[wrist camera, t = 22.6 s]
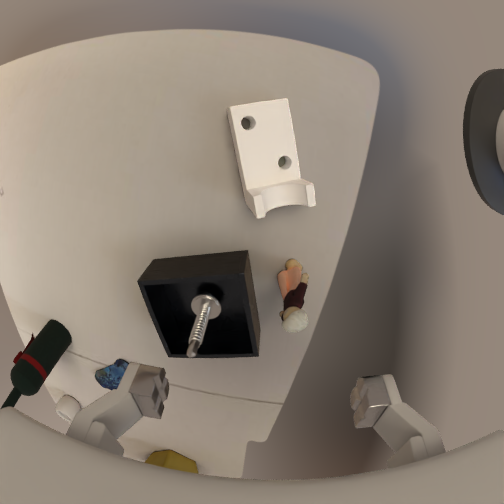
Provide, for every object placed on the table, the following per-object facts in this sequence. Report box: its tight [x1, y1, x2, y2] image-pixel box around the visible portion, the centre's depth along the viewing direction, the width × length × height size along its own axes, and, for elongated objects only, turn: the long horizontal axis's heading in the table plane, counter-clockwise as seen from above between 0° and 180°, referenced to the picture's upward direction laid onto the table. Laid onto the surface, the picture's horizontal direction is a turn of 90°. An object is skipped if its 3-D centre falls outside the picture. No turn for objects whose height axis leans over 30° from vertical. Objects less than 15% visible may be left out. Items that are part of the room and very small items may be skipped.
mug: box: [55, 395, 80, 423], centre depth 69 cm, size 12×8×8 cm
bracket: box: [227, 98, 316, 219], centre depth 32 cm, size 13×7×8 cm, turn 10°
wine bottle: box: [1, 320, 71, 409], centre depth 42 cm, size 8×10×30 cm
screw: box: [187, 294, 221, 357], centre depth 40 cm, size 13×5×5 cm
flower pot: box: [144, 450, 198, 474], centre depth 75 cm, size 19×19×17 cm
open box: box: [137, 250, 260, 358], centre depth 44 cm, size 16×16×7 cm
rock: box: [95, 359, 128, 390], centre depth 60 cm, size 15×17×2 cm
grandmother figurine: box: [277, 259, 309, 333], centre depth 38 cm, size 8×4×13 cm, turn 170°
